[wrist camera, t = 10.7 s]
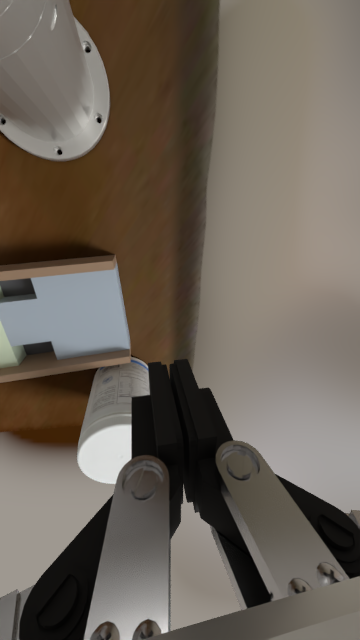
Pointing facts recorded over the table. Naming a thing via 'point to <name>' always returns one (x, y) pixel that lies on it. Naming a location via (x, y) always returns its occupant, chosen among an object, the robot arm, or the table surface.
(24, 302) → the box
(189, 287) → the table surface
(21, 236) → the table surface
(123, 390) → the supplement tub
